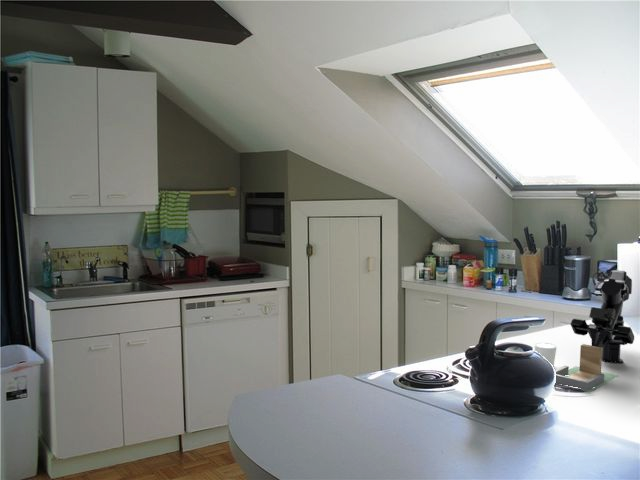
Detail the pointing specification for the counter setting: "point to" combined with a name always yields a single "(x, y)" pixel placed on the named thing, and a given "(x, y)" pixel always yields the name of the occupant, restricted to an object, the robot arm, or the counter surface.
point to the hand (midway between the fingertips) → (593, 352)
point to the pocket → (577, 382)
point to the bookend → (588, 362)
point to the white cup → (546, 351)
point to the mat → (607, 376)
